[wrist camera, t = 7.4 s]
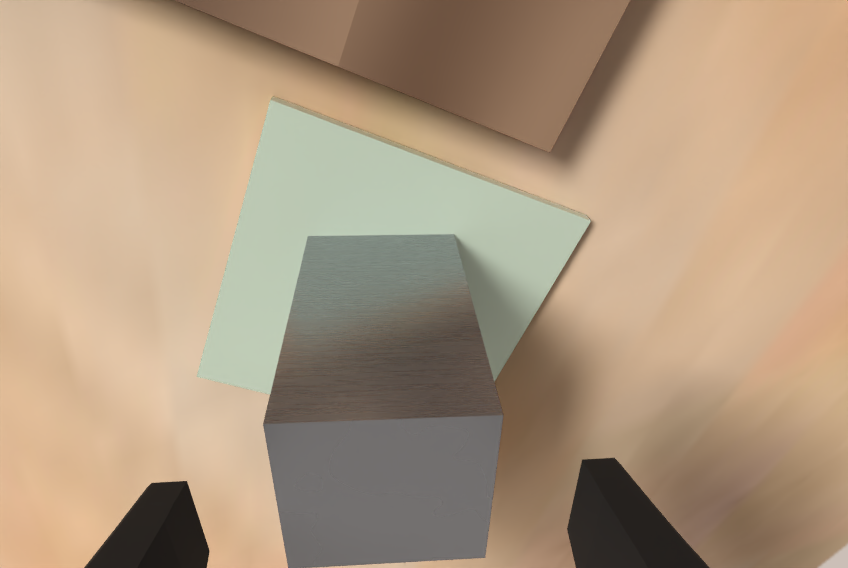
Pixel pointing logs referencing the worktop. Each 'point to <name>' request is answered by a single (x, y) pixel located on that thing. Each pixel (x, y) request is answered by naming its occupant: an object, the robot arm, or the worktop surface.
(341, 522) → the steel block
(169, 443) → the worktop surface
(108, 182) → the worktop surface
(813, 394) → the worktop surface
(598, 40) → the walnut rail
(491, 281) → the green pad
